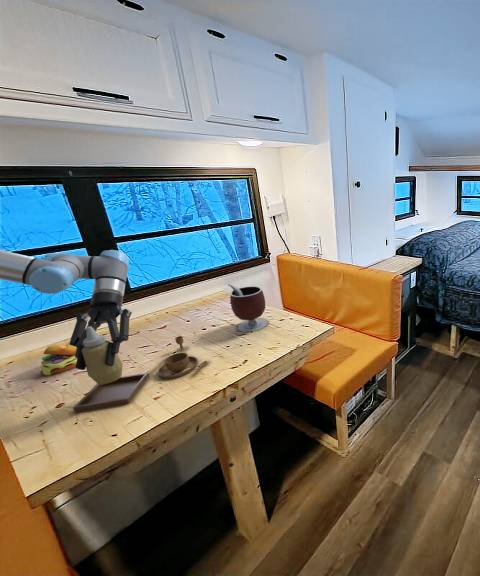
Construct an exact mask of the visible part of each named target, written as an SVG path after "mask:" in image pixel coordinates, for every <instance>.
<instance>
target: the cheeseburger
mask: <svg viewBox="0 0 480 576" xmlns="http://www.w3.org/2000/svg"><path fill="white" fill-rule="evenodd" d="M76 349H77V347H75V346H72V345H70V344H69V343H67V344H66V345H61V344H53V345H49V346H47V347H46V348H45V349H44V351H43V355H45V356H43V357H42V358H41V362H40V364H41V366H40V369H41V370H42V373H43V375H45V376H52V375H54V374H58V373H59V374H60V373H62V372H64V371H68V370H71V369H73V368H75V367H76V362H77V358H75V354H76Z"/></svg>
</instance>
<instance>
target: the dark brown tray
mask: <svg viewBox="0 0 480 576" xmlns="http://www.w3.org/2000/svg"><path fill="white" fill-rule="evenodd" d="M149 378H150V374H149V372H143V373H137V374H131V375H123V376H122V375H121V377H120V378H119V379H117V380H116V381H113V382H111V383H108V384H103V385H100V384H98V383H96V384H95V385H94V386H93V387H92V388H91V389H90V390H89V391H88V392H87V393H86V394H85V395H84V396H83V397H82V398H81V399H80V400H79V401H78V402H77V403H76V404H75V405H74V406H73V407H72V409H73V411H74V413H79V412H86V411H91V410H96V409H97V410H98V409H102V408H103V409H104V408H109V407H115V406H122V405H127V404H130V402H131V401H132V400H133V399H134V398H135V396H136V395H137V394H138V392H140V390H141V388H142V387H143V386H144V384H145V383H146V382H147V380H148V379H149Z"/></svg>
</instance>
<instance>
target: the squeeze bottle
mask: <svg viewBox="0 0 480 576" xmlns="http://www.w3.org/2000/svg"><path fill="white" fill-rule="evenodd" d="M86 327H87V326H86ZM85 329H86V332H87V338H86V339H85V340H83V343H84V346H85V347H84V348H83V349H82V354H83V357H84V361H85V365H86V368H85V370H86V373H87V376H88V377H90V379H92V380H93V381H94V382H95V383H96V384H97V383H98V384H100V385H103V384H108V383H111V382H113V381H116V380H117V379H119V378H120V377H122V375H123V365H124V364H123V362H122V360H121V358H120V356H119V355H118V354H119V353H118V354H115V360H114V366H109V365H106V364H105V359H106V354H107V348H108V343H109V342H111V340H106V337H105V335H104V334H98V333H97V331H96V332H95V330H94V329H93V328H92V327H87V328H85Z"/></svg>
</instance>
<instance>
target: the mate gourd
mask: <svg viewBox="0 0 480 576" xmlns="http://www.w3.org/2000/svg"><path fill="white" fill-rule="evenodd" d="M227 286H229V287H230V288H231V289H232V290H231V291H230V292H229V303H230V306H231V307H230V308H231V310H232V313H233V315H234V316H235V317H236V318H238V319H239V320H241V321H243V322H241V323H240V324H239V325H238V327H237V329H238V331H240V332H243V333H252V332H256V331H259V330H261V329H263V328H265V327H266V326H267V325H268V321H267V320H266V319H264V318H263V319H262V318H260V317H262V315H263V314H264V312H265V310H266V298H265V294H264V291H263V289H262V287H260V286H257V285H256V286H255V285H249V286H242V287H237V286H236V285H233V284H231V283H227Z"/></svg>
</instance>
